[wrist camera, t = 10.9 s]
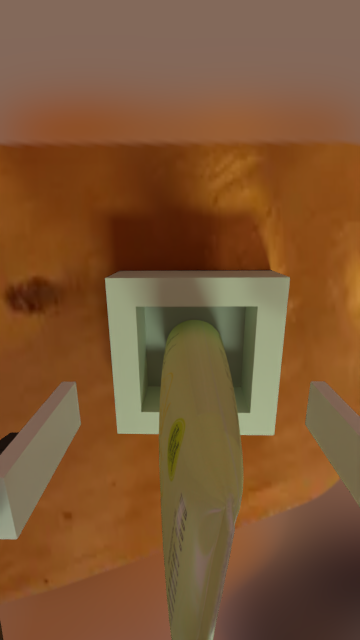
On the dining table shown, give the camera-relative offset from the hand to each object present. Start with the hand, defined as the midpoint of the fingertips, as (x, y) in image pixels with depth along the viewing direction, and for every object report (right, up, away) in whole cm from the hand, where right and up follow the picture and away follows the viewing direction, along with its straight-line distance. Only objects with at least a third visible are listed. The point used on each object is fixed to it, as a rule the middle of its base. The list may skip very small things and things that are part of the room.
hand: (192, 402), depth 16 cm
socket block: (+1, +3, +9) cm, 10 cm away
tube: (+1, +3, +9) cm, 9 cm away
